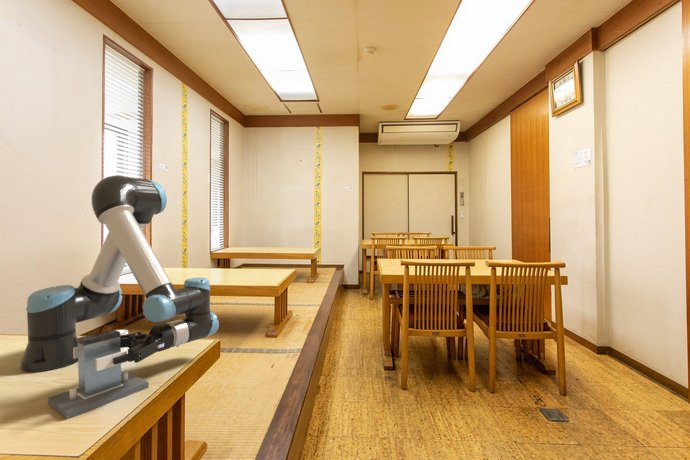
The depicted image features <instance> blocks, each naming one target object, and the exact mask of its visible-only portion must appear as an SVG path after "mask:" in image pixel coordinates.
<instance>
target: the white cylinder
mask: <svg viewBox="0 0 690 460" xmlns="http://www.w3.org/2000/svg"><path fill="white" fill-rule="evenodd" d="M115 330H116V331H119V332H120V335H126V334H129V329H121V328H120V329H115ZM120 350H121V352H122V351H127V352H128V347H124V348H120Z"/></svg>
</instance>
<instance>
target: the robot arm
mask: <svg viewBox="0 0 690 460" xmlns="http://www.w3.org/2000/svg"><path fill="white" fill-rule="evenodd" d="M167 204H168V197H167V194H166V191H165V188H164V187H163V186H162V185H161V184H160V183H158V182H157V181H154V180H149V179H148V178H137V177H136V178H135V177H129V176H123V175H110V176H107V177H104V178H102V179H101V180H100V181H99V182H97V184H95V186H94V188H93V190H92V194H91V207H92V211H93V213H94V216H95V217H96V219H97V221H98V222H99V224H102V225H105V227H106V229H107V230H108V232H107V235H106V237H105V240H104V241H103V244H102V246H101V249H100V250H99V252H98V253H99V254H98V255H97V257H96V260H95V262H94V264H93V267H92V269H91V272H90V274H86V275H84V276H82V279H81V281H80V283H79V285H78V286H77V287H75V286H73V285H71V284H70V285H69V284H65V285H64V284H63V285H57V286H50V287H45V288H42V289H39V290H36V291H33V292H32V293H31V294H29V296H28V297H27V302H26V308H25V309H26V315H27V317H26V318H27V336H28V337H27V344H26V347H25V350H24V353H23V356H22V358H21V361H20V369H21V370H22V371H24V372H28V373H29V372H31V373H32V372H34V373H35V372H43V371H49V370H50V371H51V370H56V369H60V368H63V367H67V366H70V365H73V364H74V363H76V362H78V338H79V337H78V336H77V331H76V328H77V327H76V325H77V324H78V323H81V322H84V321H89V320H92V319H96V318H99V317H104V316H107V315H109V314H112V313H113V312H115V311H116V310H117V309H118V308H119V307H120V305H121V304H122V300H123V295H122V293H123V291H122V288H121V284H120V282H119V280H120V277H121V276H122V272H123V270H124V269H125V267H126V265H127V266H128V267H129V270H130V271H131V273H132V275H133V277H134V279H135V280H136V282H137V284H138V285H139V288H140V289H141V291H142V293H143V294H144V296H145V299H144V301H143V303H142V309H143V311H142V313H143V315H144V317H145V319H146V320H148V322H151V323H160V322H164V321H168V320H171V319H173V318H175V317H178V316H181V315H184V318H180V319H179V318H178V319H176V320H172V321H168V322H164V323H160V324H157V325H153V326H152V327H151V328H150V331H149V332H148V333H142V332H141V331H137V332H134V333H128V334H126V335H120V348H124V347H127V351H122V352H119V353H115V354H112V355H108V356H105V357H102V358H98V359H96V371H99V370H103V369H106V368H109V367H112V366H115V365H119V364H121V365H122V364H125V363H127V362H128V363H131V362H134V363H140V362H142V361H143V360H145V359H147V358H149V357H151V356H152V355H154V354H155V353H158V352H160V353H161V352H163V351H166V350H169V349H171V348H175V347H176V348H180V346H181V345H184V344H188V343H191V342H194V341H197V340H201V339H206V338H208V337H210V336H213V335H214V334H216V333H217V332H218V330H219V326H220V324H219V323H220V321H219V320H218V316H217V315H216V313H214V312H213V311H211V287H210V280H209V279H208V278H206V277H190V278H187V279H185V280H184V282H183V287H181V288H177V289H176V288H175V286H174V284H173V282H172V281H171V279H170V278H169V276H168V274H167V272H166V271H165V269H164V266H163V265H162V264H161V262H160V259H159V258H158V257H157V255H156V253H155V251H154V249H153V248H152V245H151V244H150V242H149V240H148V239H147V237H146V235H145V234H144V231H143V227H144V226H147V225H149V224H151V222H152V219H153V217H154V216H155V215H158V214H161V213H162V212H164V210H165V209H166V207H167Z"/></svg>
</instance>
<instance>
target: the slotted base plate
mask: <svg viewBox="0 0 690 460" xmlns="http://www.w3.org/2000/svg"><path fill="white" fill-rule="evenodd" d="M149 383H150V382H149V381H147V380H146V379H144V378H142V377H140V376H137V375H135V374H133V373H131V372H130V371H128V370H123V371H121V385H120V386H117V387H114V388H111V389H109V390H106V391H103V392H100V393H97V394H95V395H92V396H89V397H86V398H85V397H84V396H82V395H81V394H79V387H71V388H70V389H69V390H68V391H64V392H61V393H58V394H56V395H51V396H49V397H48V398H47V404H48V405H49V406H50V407H52V409H54V410H55V411H56V412H57V413H59V414H60V415H61V416H62V417H64V418H65V419H66V420H69V419H71V418H74V417H76V416H79V415H81V414H84V413H86V412H89V411H91V410H94V409H96V408H100V407H102V406H104V405H107V404H110V403H112V402H115V401H118V400H120V399H123V398H126V397H128V396H131V395H132V394H135V393H137V392H140V391H143V390H145V389H149V387H150V385H149Z"/></svg>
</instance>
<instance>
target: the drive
mask: <svg viewBox="0 0 690 460" xmlns="http://www.w3.org/2000/svg"><path fill="white" fill-rule="evenodd" d="M116 330H117V329H109V330H106V331H101V332H97V333H93V334H92V333H91V334H88V335H84V336H80V337H77V338H78V361H77V362H78V363H77V366H78V367H77V371H78V388H79V394H81V395H82V396H84V397H85V398H86V397H89V396H92V395H95V394H97V393H100V392H103V391H106V390H109V389H111V388H114V387H117V386H120V385H121V373H122V364H119V365H115V366H112V367H109V368H106V369H103V370H99V371H96V359H98V358H102V357H105V356H108V355H112V354H115V353H119V352H121V350H120V332H119V331H116Z"/></svg>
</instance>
